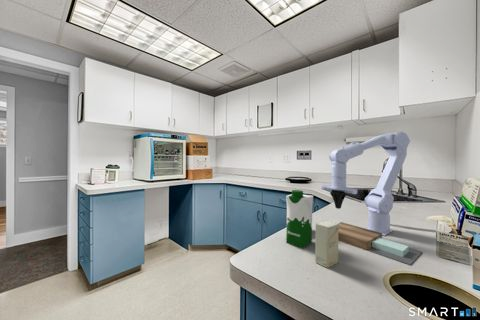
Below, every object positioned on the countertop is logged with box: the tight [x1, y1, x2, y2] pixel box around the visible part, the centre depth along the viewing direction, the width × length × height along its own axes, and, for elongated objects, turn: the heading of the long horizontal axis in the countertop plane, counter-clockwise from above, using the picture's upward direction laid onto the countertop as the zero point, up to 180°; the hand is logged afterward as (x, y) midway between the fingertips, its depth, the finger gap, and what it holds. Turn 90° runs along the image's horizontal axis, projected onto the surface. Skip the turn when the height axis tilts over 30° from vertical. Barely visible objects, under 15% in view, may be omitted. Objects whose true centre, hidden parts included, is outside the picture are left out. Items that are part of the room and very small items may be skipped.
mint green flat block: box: [371, 237, 410, 257], centre depth 71 cm, size 6×9×2 cm, turn 36°
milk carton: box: [285, 189, 314, 249], centre depth 77 cm, size 9×9×20 cm
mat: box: [369, 247, 423, 266], centre depth 70 cm, size 14×11×1 cm
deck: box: [338, 221, 383, 251], centre depth 82 cm, size 14×16×3 cm
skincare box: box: [314, 220, 339, 268], centre depth 63 cm, size 6×4×12 cm
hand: (338, 208), depth 88 cm, fingers closed
